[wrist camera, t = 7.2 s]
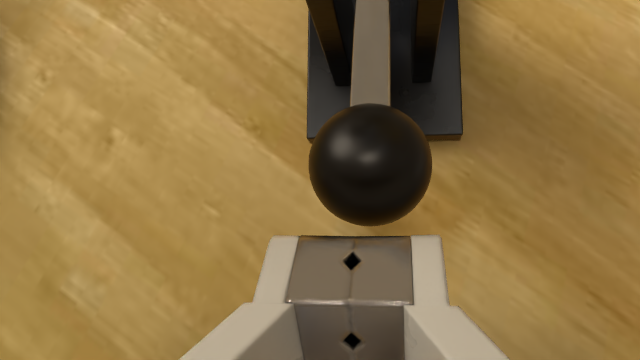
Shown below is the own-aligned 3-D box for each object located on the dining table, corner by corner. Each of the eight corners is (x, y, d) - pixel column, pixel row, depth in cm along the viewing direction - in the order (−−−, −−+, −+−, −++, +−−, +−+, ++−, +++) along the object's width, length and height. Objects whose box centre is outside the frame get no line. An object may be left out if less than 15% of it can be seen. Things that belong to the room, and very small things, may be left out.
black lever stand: (460, 140, 28) (503, 48, 16) (310, 143, 29) (251, 60, 18) (454, -35, 30) (489, -230, 18) (312, -25, 31) (259, -202, 19)
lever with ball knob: (432, 247, 14) (438, 179, 11) (313, 247, 15) (293, 181, 12) (416, -41, 21) (418, -123, 19) (337, -35, 22) (328, -115, 19)
